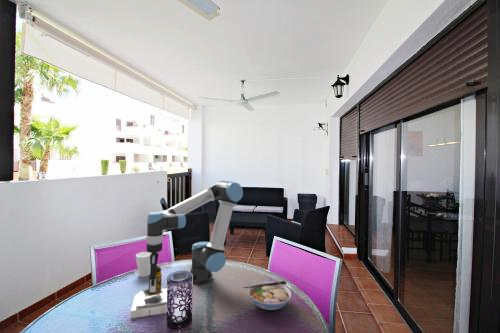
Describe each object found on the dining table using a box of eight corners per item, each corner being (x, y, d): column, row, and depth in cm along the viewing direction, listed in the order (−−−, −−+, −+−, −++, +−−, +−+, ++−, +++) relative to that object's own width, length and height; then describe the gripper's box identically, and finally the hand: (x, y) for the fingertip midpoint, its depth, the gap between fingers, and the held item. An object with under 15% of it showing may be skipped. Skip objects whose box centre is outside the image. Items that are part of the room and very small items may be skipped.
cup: (149, 270, 167) (149, 250, 167) (154, 275, 159) (155, 254, 159) (132, 274, 160) (133, 253, 160) (138, 280, 152) (138, 258, 152)
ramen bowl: (252, 322, 113) (252, 304, 113) (240, 297, 135) (241, 282, 135) (300, 315, 120) (301, 298, 120) (282, 292, 142) (282, 278, 142)
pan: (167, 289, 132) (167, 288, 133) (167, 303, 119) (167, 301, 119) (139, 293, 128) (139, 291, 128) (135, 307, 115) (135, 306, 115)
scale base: (171, 296, 134) (171, 288, 134) (171, 313, 118) (171, 305, 118) (135, 300, 128) (135, 293, 129) (130, 319, 112) (130, 310, 113)
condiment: (163, 293, 123) (164, 269, 123) (145, 297, 118) (146, 273, 118) (159, 287, 129) (160, 264, 129) (142, 291, 124) (143, 267, 125)
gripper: (148, 238, 132) (147, 280, 132) (144, 249, 114) (143, 299, 114) (163, 237, 134) (161, 279, 134) (161, 248, 116) (160, 296, 116)
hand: (153, 288), depth 124 cm, fingers closed on condiment, 6 cm apart
